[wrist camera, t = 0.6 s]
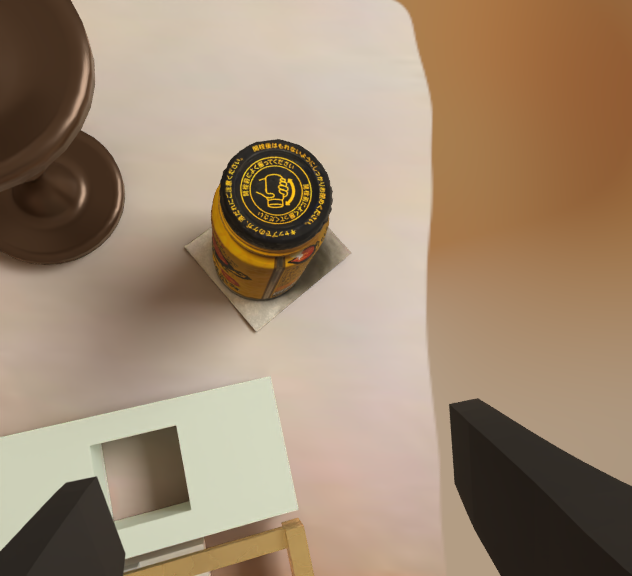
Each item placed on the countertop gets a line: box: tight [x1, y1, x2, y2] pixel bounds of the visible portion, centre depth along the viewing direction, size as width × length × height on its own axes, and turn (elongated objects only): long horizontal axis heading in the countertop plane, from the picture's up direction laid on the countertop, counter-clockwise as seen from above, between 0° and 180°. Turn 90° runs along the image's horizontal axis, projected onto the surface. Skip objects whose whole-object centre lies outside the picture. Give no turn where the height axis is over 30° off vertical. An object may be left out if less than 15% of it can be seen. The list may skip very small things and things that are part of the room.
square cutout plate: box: [0, 376, 299, 559], centre depth 30 cm, size 8×16×3 cm, turn 104°
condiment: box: [185, 139, 351, 332], centre depth 30 cm, size 7×8×12 cm
